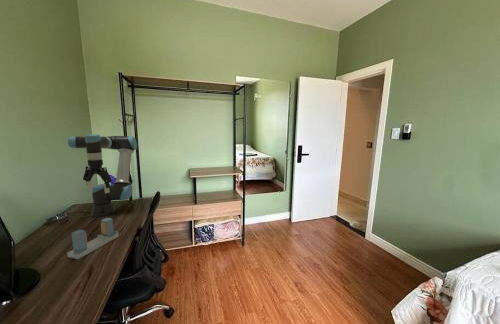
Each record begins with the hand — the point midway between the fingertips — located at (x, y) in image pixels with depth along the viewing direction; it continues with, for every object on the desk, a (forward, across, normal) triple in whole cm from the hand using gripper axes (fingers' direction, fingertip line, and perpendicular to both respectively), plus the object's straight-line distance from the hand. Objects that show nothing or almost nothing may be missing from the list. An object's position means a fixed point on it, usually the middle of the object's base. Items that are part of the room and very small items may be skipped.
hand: (98, 191), depth 132 cm
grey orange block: (+23, -14, +9) cm, 29 cm away
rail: (+26, -14, +17) cm, 34 cm away
